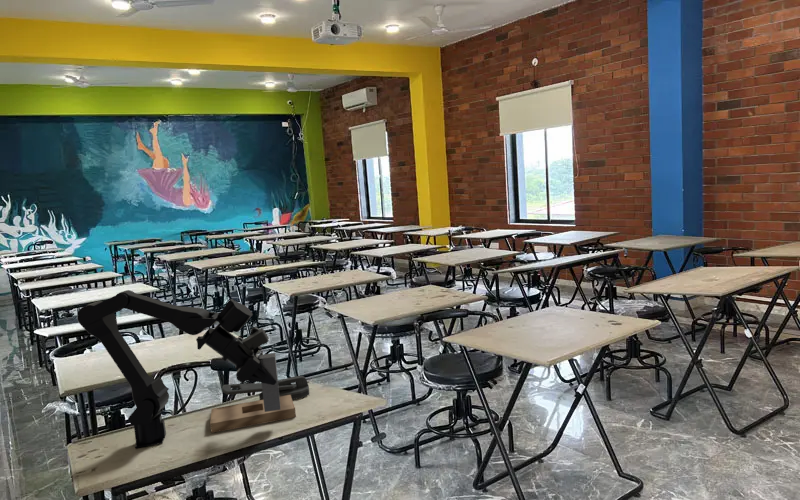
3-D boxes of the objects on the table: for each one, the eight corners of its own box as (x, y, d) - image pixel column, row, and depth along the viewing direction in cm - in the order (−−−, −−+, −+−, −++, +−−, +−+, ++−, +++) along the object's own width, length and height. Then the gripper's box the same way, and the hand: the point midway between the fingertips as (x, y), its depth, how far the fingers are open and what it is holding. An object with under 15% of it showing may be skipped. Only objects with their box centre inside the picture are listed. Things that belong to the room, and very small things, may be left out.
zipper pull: (220, 384, 168) (302, 367, 178) (223, 406, 168) (304, 388, 179) (224, 392, 160) (310, 374, 170) (227, 415, 160) (312, 396, 170)
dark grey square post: (264, 411, 146) (259, 358, 144) (265, 406, 150) (259, 355, 148) (280, 409, 146) (274, 356, 145) (280, 404, 150) (275, 352, 149)
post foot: (211, 432, 148) (210, 423, 148) (212, 417, 159) (211, 408, 159) (295, 416, 154) (294, 408, 154) (291, 403, 165) (290, 394, 165)
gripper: (245, 327, 136) (296, 366, 139) (249, 314, 154) (294, 348, 157) (214, 364, 135) (266, 402, 138) (222, 346, 153) (268, 379, 157)
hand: (275, 380), depth 148 cm, fingers closed on dark grey square post, 4 cm apart
